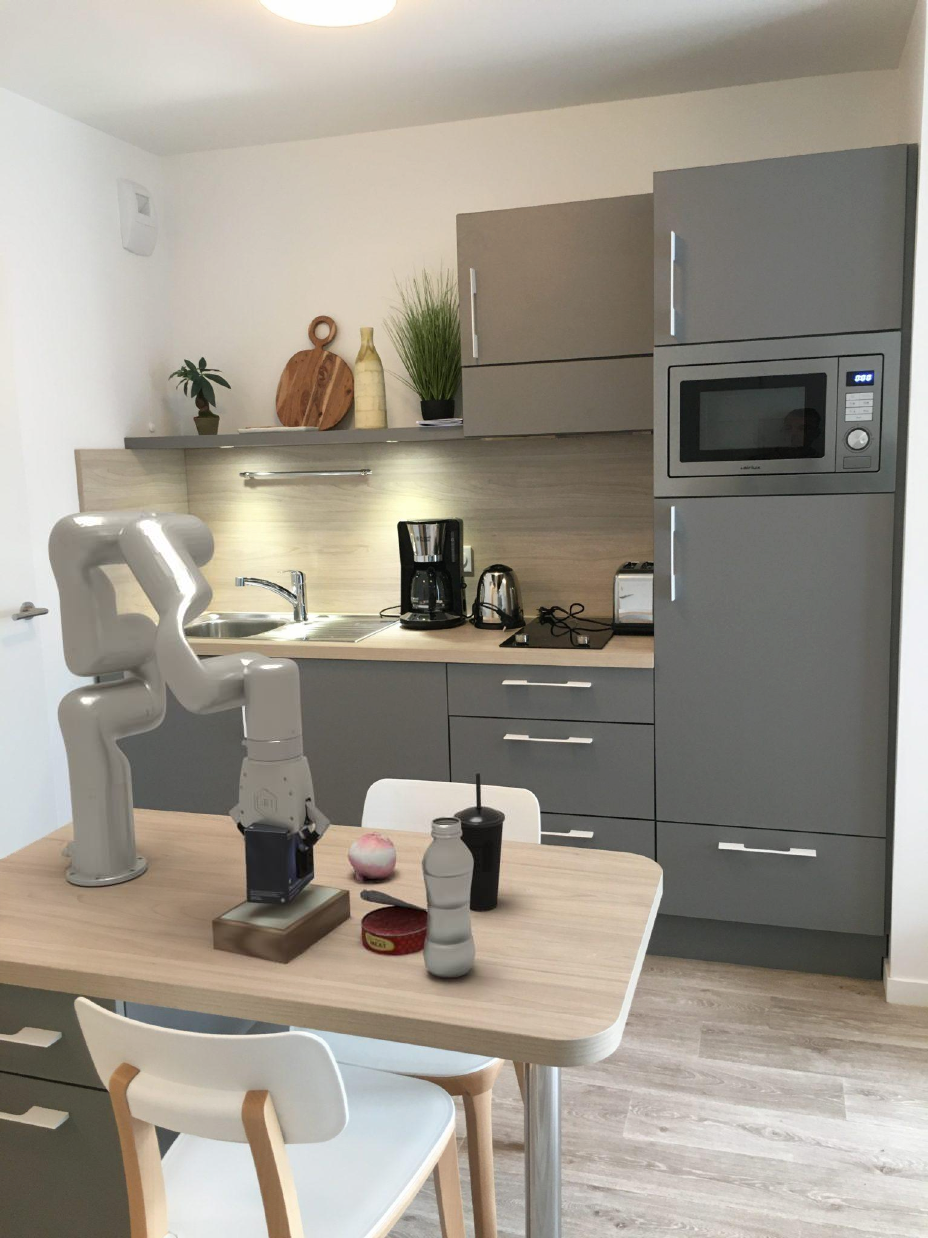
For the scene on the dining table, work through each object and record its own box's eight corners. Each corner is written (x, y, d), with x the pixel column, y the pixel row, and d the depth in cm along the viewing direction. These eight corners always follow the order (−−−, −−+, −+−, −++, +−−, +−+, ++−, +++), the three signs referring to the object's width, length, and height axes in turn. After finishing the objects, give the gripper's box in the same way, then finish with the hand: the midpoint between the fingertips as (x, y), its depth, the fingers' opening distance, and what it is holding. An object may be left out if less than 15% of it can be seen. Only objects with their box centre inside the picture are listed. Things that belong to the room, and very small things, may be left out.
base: (213, 948, 137) (212, 918, 137) (282, 904, 151) (281, 877, 151) (286, 963, 132) (285, 932, 132) (350, 916, 146) (349, 888, 146)
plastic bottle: (422, 962, 131) (417, 814, 129) (474, 959, 132) (470, 812, 130) (424, 986, 125) (419, 831, 123) (478, 982, 126) (474, 828, 123)
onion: (403, 878, 163) (409, 841, 161) (369, 897, 158) (375, 860, 155) (368, 853, 168) (374, 818, 165) (334, 871, 162) (339, 835, 159)
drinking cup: (514, 899, 151) (512, 769, 149) (494, 918, 144) (491, 783, 142) (468, 891, 155) (465, 765, 152) (447, 910, 148) (443, 778, 145)
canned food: (362, 970, 140) (343, 899, 143) (428, 948, 144) (408, 879, 146) (380, 965, 130) (359, 889, 133) (451, 941, 134) (429, 868, 137)
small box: (290, 907, 135) (286, 831, 134) (245, 904, 137) (241, 829, 135) (317, 877, 145) (314, 807, 144) (275, 875, 147) (271, 805, 146)
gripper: (207, 749, 139) (214, 872, 141) (313, 760, 132) (319, 890, 134) (241, 737, 146) (247, 855, 148) (343, 746, 138) (348, 870, 140)
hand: (281, 870), depth 141 cm, fingers closed on small box, 7 cm apart
